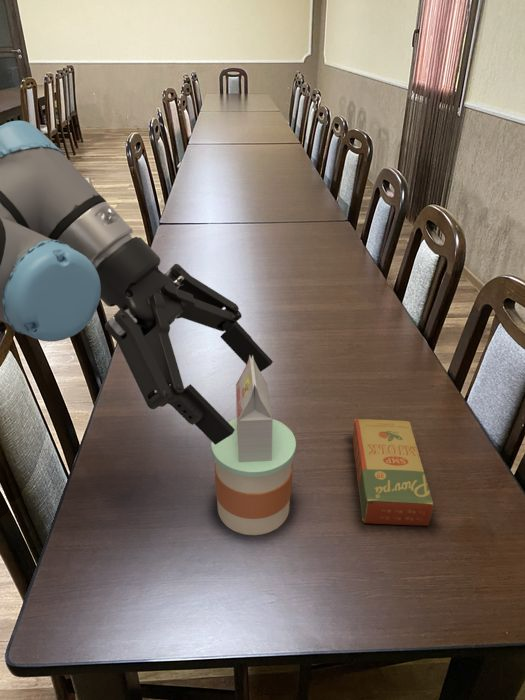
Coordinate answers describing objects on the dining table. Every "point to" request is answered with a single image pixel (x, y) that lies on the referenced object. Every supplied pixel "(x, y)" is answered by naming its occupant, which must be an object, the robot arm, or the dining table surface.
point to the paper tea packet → (253, 415)
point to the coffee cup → (254, 483)
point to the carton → (390, 474)
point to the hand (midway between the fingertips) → (246, 399)
